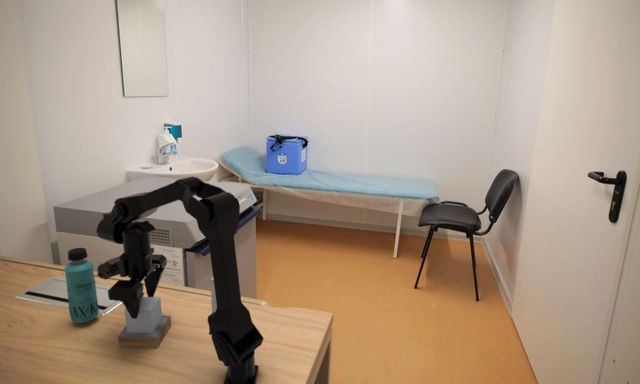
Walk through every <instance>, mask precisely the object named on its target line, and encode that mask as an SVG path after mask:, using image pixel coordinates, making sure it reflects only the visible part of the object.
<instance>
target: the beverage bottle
mask: <svg viewBox="0 0 640 384" xmlns="http://www.w3.org/2000/svg"><path fill="white" fill-rule="evenodd" d="M67 254H68V255H67V260H68V261H70V262H69V263H68V264H67V265H66V266H65V267H64V275H65V280H66V281H65V282H66V288H67V289H66V292H67V300H68V303H67V304H68V310H69V316H70V320H71V321H72V322H74V323H77V324H79V323H80V324H82V323H86V322H89V321H92V320H93V319H95V318H96V317H98V315H99V313H100V312H99V308H100V307H99V301H98V295H97V287H96V283H97V281H96V280H95V272H94V271H95V270H94V263H93V262H91V261H90V260H88V259H86V258H88V252H87V249H86V248H84V247H75V248H72V249H70V250H68V251H67Z"/></svg>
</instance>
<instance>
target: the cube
mask: <svg viewBox="0 0 640 384" xmlns="http://www.w3.org/2000/svg"><path fill="white" fill-rule="evenodd" d="M162 311H163V310H162V301H161V296H160V297H159V296H156V297H155V296H153V297H148V296H143V299H142V303H141V307H140V310H139V314H138V317H137V319H132V318H131V316H130V314H129V312H128V311H127V309H126V308H125V309H124V315H125V324H126V325H125V327H126V326H127V332H128V333H153V332H154V330H155V329H156V327H157V326H158V324H159V323H160V321H161V320H162V315H163V313H162Z"/></svg>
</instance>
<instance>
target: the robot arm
mask: <svg viewBox="0 0 640 384" xmlns="http://www.w3.org/2000/svg"><path fill="white" fill-rule="evenodd" d="M195 196H196V197H198V198H200V200H198V199H197V198H196V197H195ZM177 201H180V202H181V203H182V206H183V207H184V211H185V213H187V214H188V215H189V216H191V217H192V218H194V219H195V220H196V223H197V227H198V231H200V233H201V234H202V235H203V236H204V238H206V240H207V242H208V247H209V248H208V249H209V253H210V254H209V255H210V264H211V270H212V278H213V279H214V287H215V295H216V303H217V309H216V311H215V312H214V313H212V312H211V313H210V314H209V315H208V316H207V324H208V327H209V328H208V329H209V331H208V335H209V336H211V341H212V343H213V346H214V350H215V353H216V355H217V359H218V360H219V361H220V362H222V363H223V366H224V367H227V371H226V374H225V378H224V380H223V384H256V382H257V377H258V374H259V365H258V364H256V362H255V361H256V358H255V357H256V356H255V351H256V350H257V349H258V348H259V347H260V346H262V345H263V343H264V336H263V335H262V334H261V332H260V331H259V329H258V328H257V327H256V325H255V323H254V322H253V320H252V316H251V313H250V310H249V309H248V308H247V306H246V305H244V304H243V302H242V295H241V288H240V278H239V269H238V262H237V261H238V260H237V253H236V245H235V244H236V243H235V234H236V231H237V229H238V227H239V224H240V213H241V211H240V210H241V209H240V207H241V206H240V205H241V204H240V202H239V200H238V198H237V197H235V195H234V194H232V193H231V192H228V191H226V190H224V189H223V188H221V187H220V186H216V185H213V184H210V183H206V182H205V181H203V180H202V179H200V178H199V177H197V176H188V177H187V176H186V177H184V178H179V179H176V180H175V181H174V182H172V183H169V184H167V185H164V186H162V187H159V188H157V189H154V190H151V191H147V192H138V193H135V194H131V195H126V196H124V197H119V198H117V199H115V200H114V202H113V204H114V205H113V207H112V208H111V209H112V210H111V211H108V212H104V213H102V214H103V215H102V217H103V218H102V219H101V220H100V221H99V222H98V224H97V226H96V227H97V228H96V235H97V236H98V237H99V238H100V239H101V240H104V241H107V242H110V243H115V244H118V245H122V246H123V247H122V248H123V253H122V254H121V255H120V256H116V257H113V258H110V259H108V260H106V261H105V262H102V263H100V264H99V265H97V269H96V271H97V274H96V275H97V276H98V277H99V279H102V280H109V279H110V278H112V277H115V276H118V275H120V276H119V277H120V278H126V277H128V278H129V279H118V280H117V281H116V282H115V283H114V284H113V285H112V286H111V287H110V288H109V289H108V290H107V296H108V297H107V298H108V300H109V301H114V302H116V301H117V302H121V303H122V304H123V306H124V308H125V309H127V311H128V312H129V314H130V316H131V318H132V319H137V317H138V314H139V310H140V307H141V303H142V299H143V297H145V292H144V287H145V291H146V294H147V297H155V293H156V291H157V288H158V286H159V284H160V281H161V280H162V279H161V278H162V276H163V274H164V271H165V268H166V266H167V264H168V262H167V261H168V260H167V257H166V256H165V255H164V254H154V253H155V248H154V247H151V236H150V233H151V232H153V231H156V227H155V226H154V224H152V223H150V221H149V220H144V221H138V220H140V219H145V218H147V217H150V216H151V215H153V214H154V213H156V212H157V210H158V209H159V208H161V207H163V206H167V205H168V204H172V203H176V202H177ZM143 281H144V284H143V283H142V282H143Z"/></svg>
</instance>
